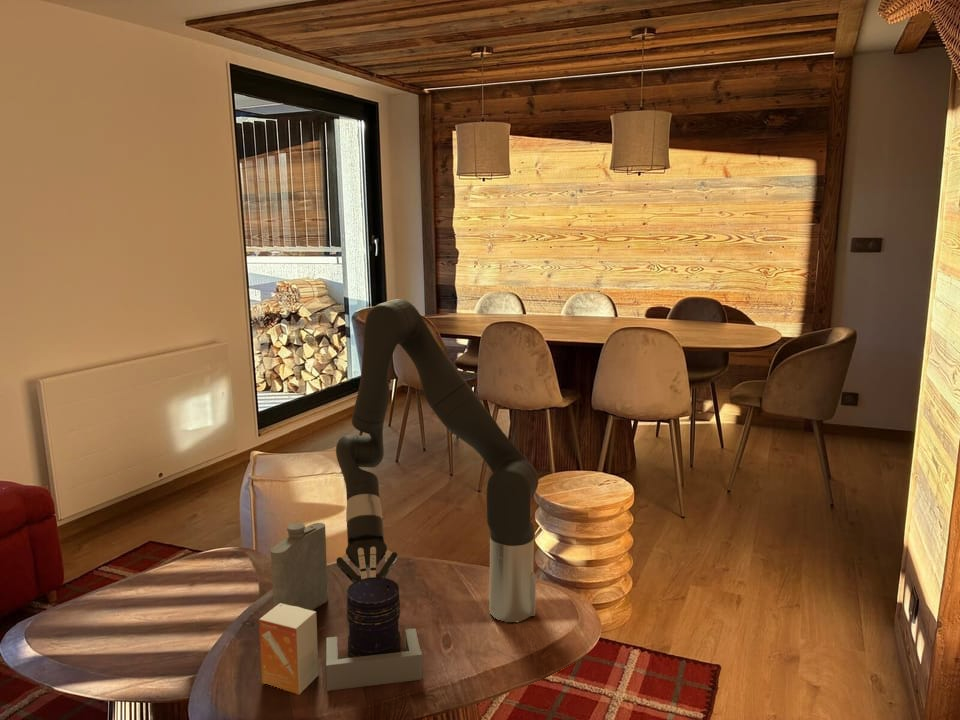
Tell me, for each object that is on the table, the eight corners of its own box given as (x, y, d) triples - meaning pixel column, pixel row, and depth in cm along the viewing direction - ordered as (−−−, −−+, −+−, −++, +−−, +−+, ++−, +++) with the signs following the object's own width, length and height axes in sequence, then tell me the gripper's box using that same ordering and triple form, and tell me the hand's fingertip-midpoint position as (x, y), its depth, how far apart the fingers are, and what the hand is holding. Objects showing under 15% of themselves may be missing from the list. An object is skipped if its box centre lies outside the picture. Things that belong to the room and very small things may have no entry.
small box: (261, 685, 131) (257, 618, 128) (283, 665, 137) (279, 601, 134) (299, 696, 128) (296, 628, 125) (319, 675, 134) (317, 610, 131)
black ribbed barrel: (353, 683, 132) (351, 607, 129) (343, 653, 141) (341, 581, 138) (407, 671, 135) (406, 597, 132) (393, 643, 144) (392, 573, 141)
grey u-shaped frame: (415, 646, 143) (415, 623, 142) (422, 679, 133) (422, 654, 132) (327, 656, 139) (326, 632, 138) (327, 690, 129) (326, 665, 128)
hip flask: (283, 635, 147) (279, 542, 143) (267, 630, 148) (262, 538, 145) (330, 598, 161) (327, 513, 157) (315, 594, 163) (312, 510, 159)
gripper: (332, 515, 150) (335, 600, 141) (396, 510, 153) (404, 593, 143) (333, 529, 156) (336, 611, 147) (394, 524, 159) (401, 604, 149)
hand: (369, 602), depth 145 cm, fingers closed
